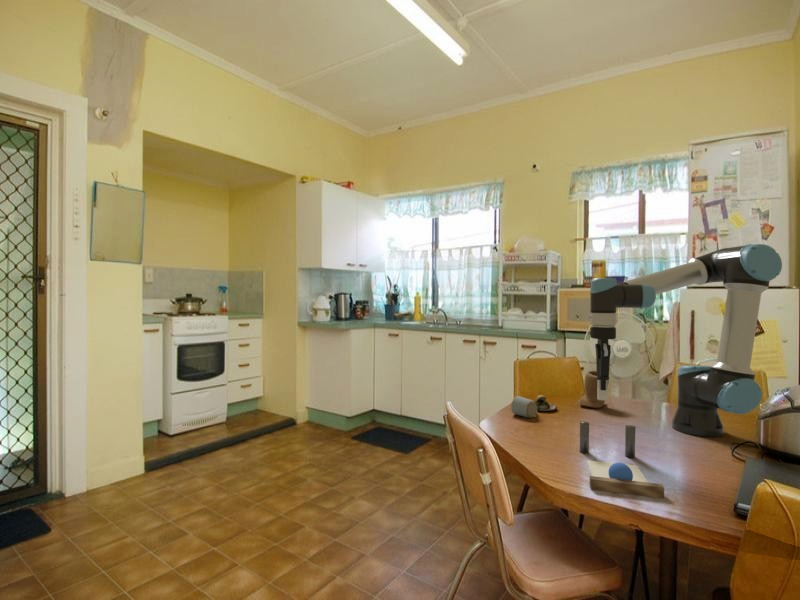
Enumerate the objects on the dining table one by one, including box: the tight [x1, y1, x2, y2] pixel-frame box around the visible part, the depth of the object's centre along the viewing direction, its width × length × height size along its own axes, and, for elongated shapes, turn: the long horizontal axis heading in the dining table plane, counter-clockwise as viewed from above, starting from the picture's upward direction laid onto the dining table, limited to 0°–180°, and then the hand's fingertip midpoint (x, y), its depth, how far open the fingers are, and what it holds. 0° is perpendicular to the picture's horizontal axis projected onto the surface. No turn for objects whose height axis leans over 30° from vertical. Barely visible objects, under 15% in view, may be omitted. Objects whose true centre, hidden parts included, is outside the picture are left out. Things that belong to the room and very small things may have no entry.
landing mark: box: [586, 460, 648, 482], centre depth 117 cm, size 13×13×1 cm
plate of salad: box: [534, 392, 558, 412], centre depth 182 cm, size 12×12×8 cm
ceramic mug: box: [510, 395, 539, 419], centre depth 172 cm, size 10×8×7 cm
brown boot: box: [578, 370, 610, 409], centre depth 188 cm, size 15×12×15 cm
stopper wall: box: [589, 475, 665, 499], centre depth 105 cm, size 16×2×2 cm, turn 74°
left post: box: [579, 421, 590, 455], centre depth 132 cm, size 3×3×9 cm
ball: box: [608, 462, 633, 481], centre depth 109 cm, size 6×6×6 cm
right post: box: [624, 424, 636, 459], centre depth 128 cm, size 3×3×9 cm
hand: (602, 399), depth 139 cm, fingers closed
